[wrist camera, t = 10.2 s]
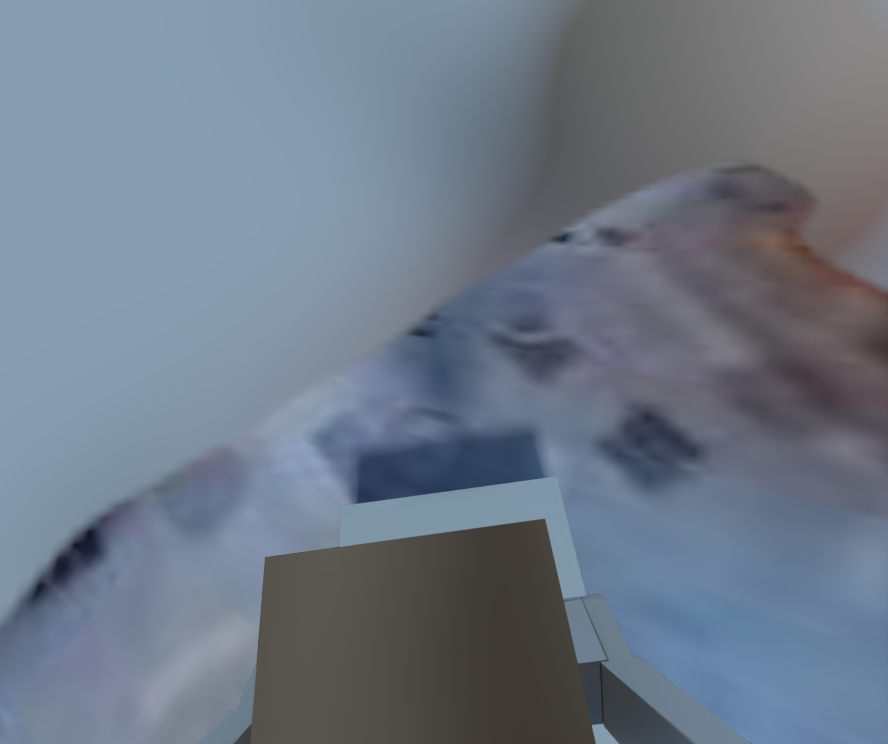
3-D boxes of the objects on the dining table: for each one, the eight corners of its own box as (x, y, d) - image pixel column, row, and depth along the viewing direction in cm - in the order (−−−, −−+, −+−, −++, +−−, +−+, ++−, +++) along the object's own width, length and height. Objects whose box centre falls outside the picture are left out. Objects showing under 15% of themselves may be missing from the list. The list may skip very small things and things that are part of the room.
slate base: (360, 772, 23) (338, 807, 20) (356, 515, 30) (339, 506, 26) (606, 741, 23) (629, 770, 19) (547, 489, 29) (556, 476, 26)
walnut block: (392, 736, 14) (229, 1009, 5) (385, 572, 16) (265, 557, 7) (540, 717, 14) (645, 964, 5) (511, 554, 16) (545, 518, 7)
